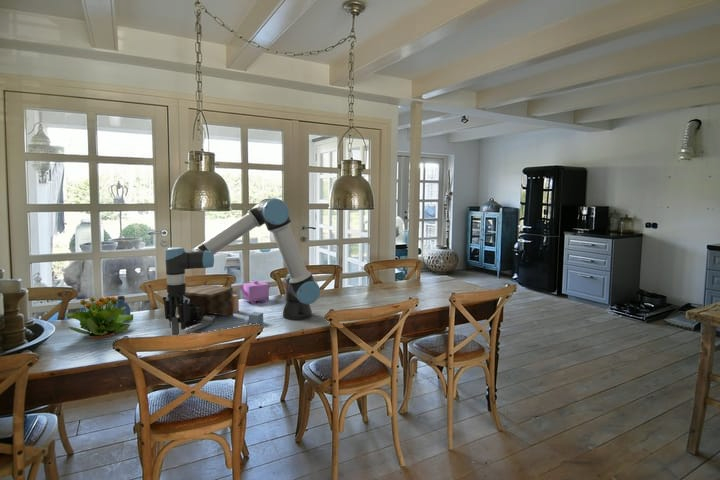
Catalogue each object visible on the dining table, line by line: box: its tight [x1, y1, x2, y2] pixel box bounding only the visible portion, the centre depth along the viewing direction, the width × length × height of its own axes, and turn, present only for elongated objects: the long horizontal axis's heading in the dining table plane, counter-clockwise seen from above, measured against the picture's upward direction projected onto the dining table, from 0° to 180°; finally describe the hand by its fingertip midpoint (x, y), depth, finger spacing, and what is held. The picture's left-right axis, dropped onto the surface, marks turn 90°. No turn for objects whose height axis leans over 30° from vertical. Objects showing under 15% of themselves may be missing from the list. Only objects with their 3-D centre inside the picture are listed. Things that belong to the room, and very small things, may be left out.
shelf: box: [185, 284, 234, 317], centre depth 214 cm, size 18×18×15 cm
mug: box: [176, 304, 203, 328], centre depth 203 cm, size 8×12×10 cm
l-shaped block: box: [233, 294, 240, 313], centre depth 229 cm, size 16×4×9 cm, turn 71°
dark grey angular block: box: [171, 313, 216, 335], centre depth 194 cm, size 13×24×9 cm, turn 157°
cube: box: [248, 311, 264, 325], centre depth 207 cm, size 5×5×5 cm
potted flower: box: [64, 296, 134, 340], centre depth 185 cm, size 25×24×18 cm
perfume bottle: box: [114, 295, 131, 315], centre depth 210 cm, size 6×6×12 cm
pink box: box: [236, 280, 271, 305], centre depth 248 cm, size 20×10×12 cm, turn 124°
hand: (178, 335), depth 183 cm, fingers closed on dark grey angular block, 4 cm apart
